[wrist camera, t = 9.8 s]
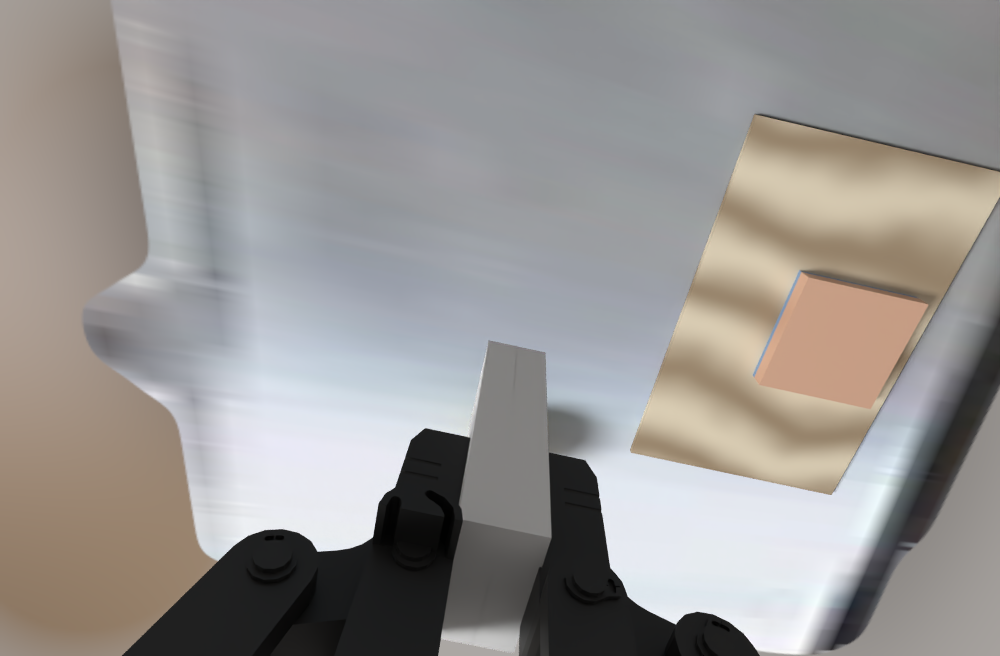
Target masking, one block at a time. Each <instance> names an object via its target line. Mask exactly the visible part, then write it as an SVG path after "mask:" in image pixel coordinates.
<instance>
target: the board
mask: <svg viewBox="0 0 1000 656" xmlns="http://www.w3.org/2000/svg"><path fill="white" fill-rule="evenodd" d="M999 197H1000V172H998V171H994V170H989V169H985V168H981V167H977V166H972V165H968V164H964V163H960V162H955V161H951V160H947V159H943V158H938V157H934V156H930V155H926V154H921V153H917V152H913V151H909V150H904V149H900V148H896V147H891V146H887V145H883V144H879V143H874V142H870V141H866V140H862V139H857V138H853V137H849V136H845V135H840V134H836V133H832V132H828V131H823V130H819V129H815V128H811V127H806V126H802V125H798V124H793V123H789V122H785V121H781V120H776V119H772V118H768V117H764V116H759V115H755V114H754V117H753V120H752V123H751V125H750V128H749V131H748V133H747V136H746V139H745V141H744V144H743V147H742V150H741V152H740V155H739V158H738V160H737V163H736V166H735V168H734V171H733V174H732V177H731V179H730V182H729V185H728V187H727V190H726V193H725V195H724V198H723V201H722V204H721V206H720V209H719V212H718V214H717V217H716V220H715V222H714V225H713V228H712V231H711V233H710V236H709V239H708V241H707V244H706V247H705V249H704V252H703V255H702V258H701V260H700V263H699V266H698V268H697V271H696V274H695V276H694V279H693V282H692V285H691V287H690V290H689V293H688V295H687V298H686V301H685V303H684V306H683V309H682V311H681V314H680V317H679V320H678V322H677V325H676V328H675V330H674V333H673V336H672V338H671V341H670V344H669V347H668V349H667V352H666V355H665V357H664V360H663V363H662V365H661V368H660V371H659V374H658V376H657V379H656V382H655V384H654V387H653V390H652V392H651V395H650V398H649V401H648V403H647V406H646V409H645V411H644V414H643V417H642V419H641V422H640V425H639V428H638V430H637V433H636V436H635V438H634V441H633V444H632V446H631V449H630V451H631V453H636V454H640V455H645V456H650V457H654V458H659V459H664V460H669V461H673V462H678V463H683V464H687V465H692V466H697V467H702V468H706V469H711V470H716V471H720V472H725V473H730V474H735V475H739V476H744V477H749V478H753V479H758V480H763V481H768V482H772V483H777V484H782V485H786V486H791V487H796V488H801V489H805V490H810V491H815V492H819V493H824V494H829V495H832V493H833V491H834V489H835V488H836V486H837V484H838V482H839V481H840V479H841V477H842V475H843V473H844V472H845V470H846V468H847V466H848V465H849V463H850V461H851V459H852V458H853V456H854V454H855V452H856V450H857V449H858V447H859V445H860V443H861V442H862V440H863V438H864V436H865V435H866V433H867V431H868V429H869V427H870V426H871V424H872V422H873V420H874V419H875V417H876V415H877V413H878V412H879V410H880V408H881V406H882V404H883V403H884V401H885V399H886V397H887V396H888V394H889V392H890V390H891V388H892V387H893V385H894V383H895V381H896V380H897V378H898V376H899V374H900V373H901V371H902V369H903V367H904V365H905V364H906V362H907V360H908V358H909V357H910V355H911V353H912V351H913V350H914V348H915V346H916V344H917V342H918V341H919V339H920V337H921V335H922V334H923V332H924V330H925V328H926V326H927V325H928V323H929V321H930V319H931V318H932V316H933V314H934V312H935V311H936V309H937V307H938V305H939V303H940V302H941V300H942V298H943V296H944V295H945V293H946V291H947V289H948V288H949V286H950V284H951V282H952V280H953V279H954V277H955V275H956V273H957V272H958V270H959V268H960V266H961V265H962V263H963V261H964V259H965V257H966V256H967V254H968V252H969V250H970V249H971V247H972V245H973V243H974V241H975V240H976V238H977V236H978V234H979V233H980V231H981V229H982V227H983V226H984V224H985V222H986V220H987V218H988V217H989V215H990V213H991V211H992V210H993V208H994V206H995V204H996V203H997V201H998V199H999ZM799 270H800V271H804V272H809V273H813V274H818V275H822V276H827V277H831V278H836V279H840V280H844V281H849V282H853V283H858V284H862V285H867V286H871V287H875V288H880V289H884V290H889V291H893V292H898V293H902V294H906V295H911V296H915V297H917V298H919V299H920V300H922V301H924V302H925V303H927V304H929V305H928V307H927V309H926V310H925V312H924V314H923V316H922V318H921V319H920V321H919V323H918V325H917V327H916V328H915V330H914V332H913V334H912V336H911V337H910V339H909V341H908V343H907V345H906V346H905V348H904V350H903V352H902V354H901V355H900V357H899V359H898V361H897V363H896V364H895V366H894V368H893V370H892V372H891V373H890V375H889V377H888V379H887V380H886V382H885V384H884V386H883V388H882V389H881V391H880V393H879V395H878V397H877V398H876V400H875V402H874V404H873V406H872V407H871V409H867V408H863V407H858V406H854V405H849V404H844V403H840V402H835V401H831V400H826V399H821V398H817V397H812V396H808V395H803V394H798V393H794V392H789V391H785V390H780V389H775V388H771V387H766V386H762V385H759V384H758V382H757V381H756V379H755V378H754V377H753V373H754V371H755V368H756V366H757V364H758V362H759V359H760V357H761V355H762V353H763V350H764V348H765V346H766V344H767V342H768V339H769V337H770V335H771V333H772V330H773V328H774V326H775V324H776V321H777V319H778V317H779V315H780V312H781V310H782V308H783V306H784V303H785V301H786V299H787V297H788V295H789V292H790V290H791V288H792V286H793V283H794V281H795V279H796V277H797V274H798V272H799Z"/></svg>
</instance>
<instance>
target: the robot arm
mask: <svg viewBox="0 0 1000 656" xmlns="http://www.w3.org/2000/svg"><path fill="white" fill-rule="evenodd" d="M519 636H520V637H519ZM518 638H519V656H760V655H759V654H758V652H757V651H756V649H755V648H754V646H753V645H752V644H751V643H750V641H749V640H748V639H747V637H746V636H745V635H744V634H743V633H742V632H741V631H739V630H738V629H737V628H736V627H734V626H733V625H732V624H731V623H729V622H728V621H725V620H723V619H721V618H719V617H717V616H715V615H713V614H707V613H701V612H695V613H690V614H686V615H684V616H683V617H682V618H681V619H680V620H679V621H678V622H677V624H676V625H675V624H673V623H671V622H669V621H667V620H665V619H663V618H661V617H659V616H657V615H655V614H653V613H651V612H649V611H647V610H645V609H644V608H642V607H640V606H639V605H637V604H636V603H635V602H633V601H632V600H631V599H630V598H629V597H627V593H626V591H625V588H624V586H623V583H622V581H621V580H620V579H619V578H618V576H617V575H616V574H615V573H614V572H613V570H612V569H610V564H609V557H608V550H607V544H606V537H605V530H604V523H603V517H602V513H601V503H600V498H599V490H598V483H597V477H596V476H595V474H594V473H593V471H592V470H591V468H590V467H589V465H588V464H587V462H586V461H585V460H581V459H576V458H572V457H567V456H562V455H557V454H553V453H549V448H548V418H547V388H546V359H545V352H540V351H535V350H531V349H526V348H522V347H517V346H512V345H508V344H503V343H498V342H494V341H488V346H487V350H486V354H485V359H484V363H483V368H482V372H481V376H480V381H479V385H478V390H477V394H476V398H475V403H474V407H473V411H472V416H471V420H470V425H469V429H468V435H467V437H464V436H460V435H455V434H450V433H445V432H441V431H436V430H431V429H426V428H425V429H424V430H422V431H421V432H420V433H419V434H418V435H417V436H415V437H414V438H413V439H412V440H411V442H410V445H409V448H408V451H407V454H406V457H405V460H404V463H403V466H402V469H401V473H400V475H399V478H398V481H397V484H396V487H395V488H394V489H392V490H391V491H389V492H387V493H386V494H385V495H384V497H383V498H382V500H381V501H380V502H379V505H378V511H377V517H376V523H375V529H374V536H373V538H372V539H370V540H368V541H367V542H365V543H364V544H362V545H359V546H356V547H353V548H350V549H344V550H338V551H323V552H317V550H316V549H315V547H314V545H313V544H312V542H311V541H310V540H309V539H307V538H305V537H304V536H302V535H301V534H299V533H296V532H292V531H288V530H284V529H279V530H264V531H261V532H258V533H255V534H252V535H249V536H247V537H246V538H244V539H243V540H242V541H240V542H239V543H237V544H236V545H234V546H233V547H232V548H231V549H230V550H229V551H228V552H227V553H226V554H225V555H224V556H223V557H222V558H221V559H220V560H219V561H218V562H217V563H216V564H215V565H214V566H213V567H212V568H211V569H210V570H209V571H208V572H207V573H206V574H205V575H204V576H203V577H202V578H201V579H200V580H199V581H198V582H197V583H196V584H195V585H194V586H193V587H192V588H191V589H189V591H187V592H186V593H185V594H184V595H183V596H182V597H181V598H180V599H179V600H178V601H177V602H176V603H175V604H174V605H173V606H172V607H171V608H170V609H169V610H168V611H167V612H166V613H165V614H164V615H163V616H162V617H161V618H160V619H159V620H158V621H157V622H156V623H155V624H154V625H153V626H152V627H151V628H150V629H149V630H148V631H147V632H146V633H145V634H144V635H143V636H142V637H141V638H140V639H139V640H138V641H137V642H136V643H134V644H133V645H132V646H131V648H129V649H128V651H126V652H125V653H124V654H123V655H122V656H438V653H439V647H440V640H441V639H443V640H448V641H453V642H459V643H464V644H468V645H474V646H479V647H484V648H489V649H494V650H499V651H504V652H509V653H514V651H515V648H516V645H517V642H518Z"/></svg>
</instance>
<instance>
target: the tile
mask: <svg viewBox="0 0 1000 656" xmlns="http://www.w3.org/2000/svg"><path fill="white" fill-rule="evenodd" d="M928 305H929V304H927V303H925V302H924V301H922V300H920V299H919V298H917V297H915V296H911V295H906V294H902V293H898V292H893V291H889V290H884V289H880V288H875V287H871V286H867V285H862V284H858V283H853V282H849V281H844V280H840V279H836V278H831V277H827V276H822V275H818V274H813V273H809V272H804V271H800V270H799V272H798V274H797V277H796V279H795V281H794V283H793V286H792V288H791V290H790V292H789V295H788V297H787V299H786V301H785V303H784V306H783V308H782V310H781V312H780V315H779V317H778V319H777V321H776V324H775V326H774V328H773V330H772V333H771V335H770V337H769V339H768V342H767V344H766V346H765V348H764V350H763V353H762V355H761V357H760V359H759V362H758V364H757V366H756V368H755V371H754V373H753V377H754V378H755V379H756V381H757V382H758V384H759V385H762V386H766V387H771V388H775V389H780V390H785V391H789V392H794V393H798V394H803V395H808V396H812V397H817V398H821V399H826V400H831V401H835V402H840V403H844V404H849V405H854V406H858V407H863V408H867V409H871V407H872V406H873V404H874V402H875V400H876V398H877V397H878V395H879V393H880V391H881V389H882V388H883V386H884V384H885V382H886V380H887V379H888V377H889V375H890V373H891V372H892V370H893V368H894V366H895V364H896V363H897V361H898V359H899V357H900V355H901V354H902V352H903V350H904V348H905V346H906V345H907V343H908V341H909V339H910V337H911V336H912V334H913V332H914V330H915V328H916V327H917V325H918V323H919V321H920V319H921V318H922V316H923V314H924V312H925V310H926V309H927V307H928Z"/></svg>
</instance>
